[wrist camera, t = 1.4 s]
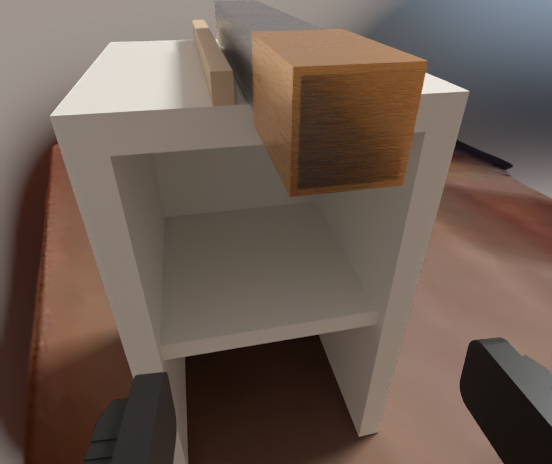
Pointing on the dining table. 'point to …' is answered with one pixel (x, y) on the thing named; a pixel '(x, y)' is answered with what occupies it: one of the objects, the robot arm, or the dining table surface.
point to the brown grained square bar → (323, 98)
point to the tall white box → (241, 223)
